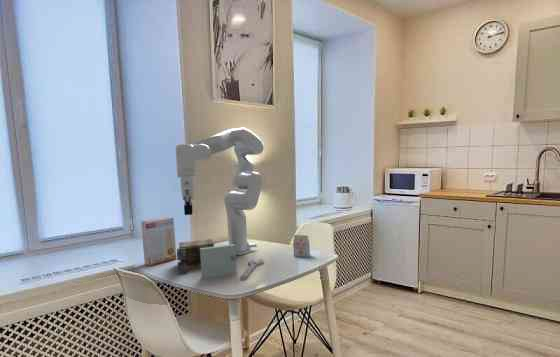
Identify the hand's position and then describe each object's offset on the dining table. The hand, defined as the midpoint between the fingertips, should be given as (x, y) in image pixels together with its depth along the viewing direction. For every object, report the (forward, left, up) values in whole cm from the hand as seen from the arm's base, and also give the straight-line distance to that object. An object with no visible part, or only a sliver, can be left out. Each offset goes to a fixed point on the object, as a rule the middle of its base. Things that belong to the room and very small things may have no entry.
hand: (188, 213), depth 147 cm
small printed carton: (-51, -1, -26) cm, 57 cm away
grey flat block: (-10, +11, -25) cm, 30 cm away
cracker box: (+14, -22, -26) cm, 36 cm away
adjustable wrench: (-23, +10, -26) cm, 36 cm away
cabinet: (-2, -6, -25) cm, 26 cm away
